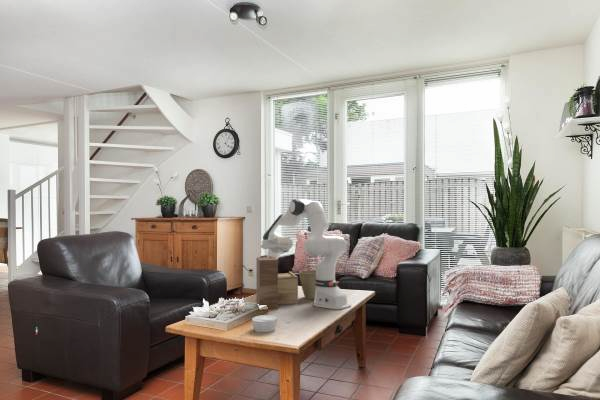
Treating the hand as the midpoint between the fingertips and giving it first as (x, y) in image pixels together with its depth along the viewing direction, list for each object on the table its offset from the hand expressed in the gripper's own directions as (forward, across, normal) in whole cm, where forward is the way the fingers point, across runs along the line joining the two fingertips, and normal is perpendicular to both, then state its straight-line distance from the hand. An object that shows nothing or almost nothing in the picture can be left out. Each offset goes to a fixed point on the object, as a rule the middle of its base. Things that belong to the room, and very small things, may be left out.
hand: (279, 238), depth 269 cm
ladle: (+6, 0, +6) cm, 9 cm away
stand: (0, -6, +41) cm, 42 cm away
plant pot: (-6, +18, +38) cm, 42 cm away
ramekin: (+46, -20, +68) cm, 84 cm away
